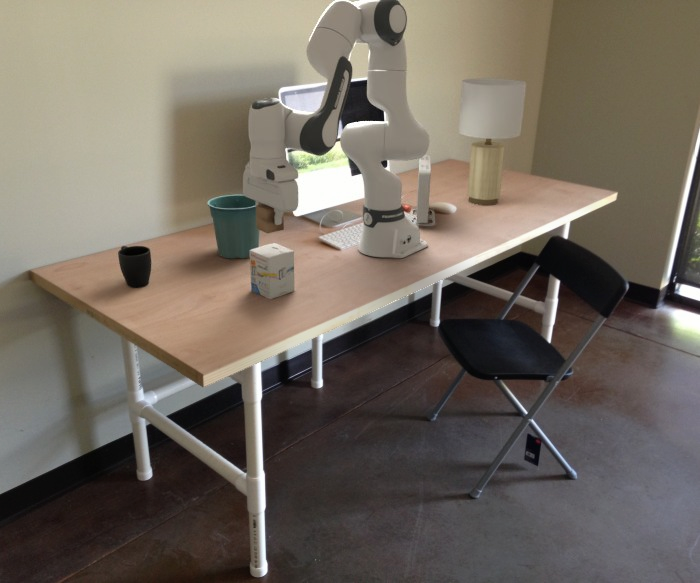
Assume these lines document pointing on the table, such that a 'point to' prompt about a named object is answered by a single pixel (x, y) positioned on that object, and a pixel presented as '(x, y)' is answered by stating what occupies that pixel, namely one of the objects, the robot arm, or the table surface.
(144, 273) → the mug
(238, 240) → the flower pot
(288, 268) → the ink box
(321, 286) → the table surface
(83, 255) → the table surface
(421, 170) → the network device
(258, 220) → the walnut block
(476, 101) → the lamp
